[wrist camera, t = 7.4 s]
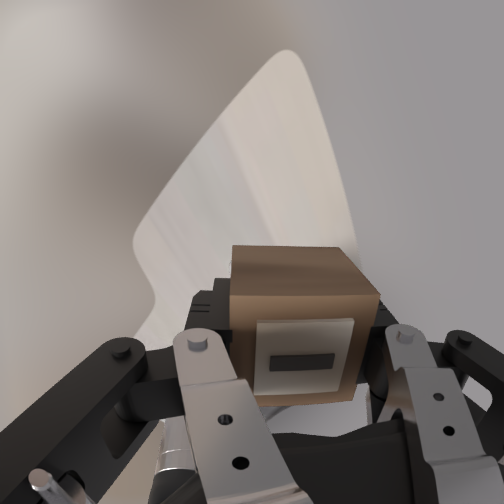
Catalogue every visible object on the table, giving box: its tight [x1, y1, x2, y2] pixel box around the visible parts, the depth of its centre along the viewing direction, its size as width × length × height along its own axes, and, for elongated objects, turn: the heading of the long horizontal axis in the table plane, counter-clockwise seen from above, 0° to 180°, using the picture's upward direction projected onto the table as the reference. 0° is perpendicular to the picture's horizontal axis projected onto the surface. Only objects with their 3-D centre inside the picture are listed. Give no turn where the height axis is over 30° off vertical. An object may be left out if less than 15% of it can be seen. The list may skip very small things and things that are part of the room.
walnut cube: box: [230, 245, 381, 407], centre depth 10 cm, size 4×4×4 cm
